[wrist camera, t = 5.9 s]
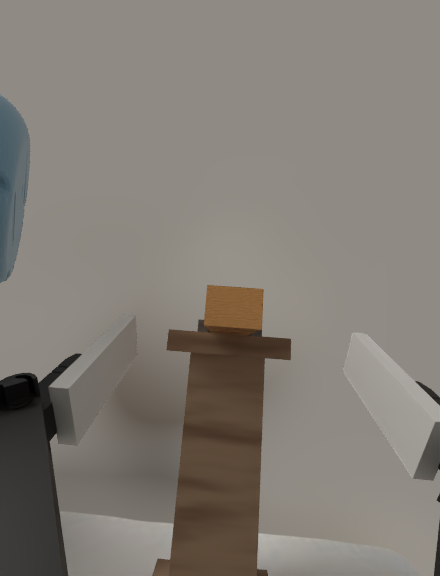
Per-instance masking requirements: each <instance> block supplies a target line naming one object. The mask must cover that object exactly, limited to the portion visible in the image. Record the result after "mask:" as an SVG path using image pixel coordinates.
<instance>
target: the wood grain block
mask: <svg viewBox="0 0 440 576" xmlns="http://www.w3.org/2000/svg"><path fill="white" fill-rule="evenodd" d="M262 311H263V289H255V288H241V287H226V286H213V285H212V286H211V285H207V296H206V306H205V319H204V326H205V327H206V328H207V329H208V330H209V331H210V332H211V333H221V334H234V335H250V334H252V333H255V332H257V331H260V330H262V314H263V313H262Z"/></svg>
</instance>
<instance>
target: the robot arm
mask: <svg viewBox="0 0 440 576" xmlns="http://www.w3.org/2000/svg"><path fill="white" fill-rule="evenodd" d="M29 164H30V139H29V134H28V129H27V126H26V124H25V122H24V119H23V118H22V116H21V115H20V113H19V112H18V111H17V109H16V108H15V107H14V106H13V105H12V104H11V103H10V102H9V101H8V100H7V99H5V98H4V97H3V96H2V95H0V283H1V282H3V281H6V280H7V278H8V277H9V276H10V275H11V272H12V270H13V268H14V263H15V260H16V256H17V252H18V247H19V242H20V237H21V231H22V225H23V217H24V206H25V202H26V197H27V188H28V178H29ZM137 355H138V354H137V333H136V316H134V315H123V316H121V317H120V318H119V319H118V320H117V321H116V322H115V323H114V324H113V325H112V326H111V327H110V328H109V329H108V330H107V331H106V332H105V333H104V334H103V335H102V336H101V337H100V338H99V339H98V340H97V341H95V343H93V344H92V345H91V346H90V347H89V348H88V349H87V350H86V351H85V352H84V353H83V354H74V355H72V356H70V357H68V358H67V359H65V360H64V361H63V362H62V363H61V364H59V366H58V367H56V368H55V369H54V370H53V371H52V373H49V374H48V375H47V376H46V377H45V378H44V379H43V380H42V381H41V382H39V383H38V380H37V377H36V376H35V375H34V374H31V373H21V374H15V375H12V376H9V377H6V378H5V379H3V380H1V381H0V576H68V572H67V565H66V557H65V550H64V543H63V535H62V528H61V521H60V513H59V506H58V499H57V491H56V484H55V477H54V469H53V462H52V455H51V448H50V442H49V441H50V440H51V439H52V438H53V436H54V435H55V434H56V433H57V438H58V443H59V444H65V445H75V446H77V445H78V444H79V442H80V440H81V439H82V438H83V436H84V434H85V433H86V431H87V430H88V428H89V427H90V425H91V424H92V422H93V421H94V419H95V418H96V416H97V415H98V413H99V412H100V410H101V409H102V407H103V406H104V404H105V403H106V401H107V400H108V398H109V397H110V395H111V394H112V392H113V391H114V389H115V388H116V386H117V385H118V383H119V382H120V380H121V379H122V377H123V376H124V374H125V373H126V371H127V370H128V368H129V367H130V365H131V364H132V362H133V361H134V359H135V358H136V356H137ZM343 372H344V374H345V376H346V377H347V379H348V380H349V382H350V383H351V385H352V386H353V388H354V389H355V391H356V392H357V394H358V395H359V397H360V399H361V400H362V402H363V403H364V405H365V406H366V408H367V409H368V411H369V412H370V414H371V415H372V417H373V418H374V420H375V422H376V423H377V425H378V426H379V428H380V429H381V431H382V432H383V434H384V435H385V437H386V439H387V440H388V442H389V443H390V445H391V446H392V448H393V449H394V451H395V452H396V454H397V455H398V457H399V458H400V460H401V462H402V463H403V465H404V466H405V468H406V469H407V471H408V472H409V474H410V475H411V477H412V478H413V479H422V480H432V481H433V480H434V478H435V475H436V473H437V471H438V469H439V470H440V398H439V396H438V395H437V394H435V393H434V392H433V391H432V390H431V389H430V388H428V387H427V386H425V385H423V384H422V383H420V382H417V381H414V380H413V379H412V378H411V377H410V376H409V375H407V373H406V372H405V371H404V370H403V369H402V368H401V367H399V366H398V365H397V364H396V363H395V362H394V361H393V360H392V359H391V358H390V357H389V356H388V355H387V354H386V353H385V352H384V351H383V350H382V349H381V348H380V347H379V346H378V345H377V344H376V343H375V342H374V341H373V340H372V339H371V338H370V337H369V336H368V335H367V334H365V333H354V332H353V333H352V336H351V341H350V345H349V349H348V353H347V358H346V362H345V365H344V370H343ZM437 501H438V502H440V495H439V496H438V499H437ZM434 576H440V523H439V532H438V542H437V552H436V562H435V571H434Z"/></svg>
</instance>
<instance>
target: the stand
mask: <svg viewBox="0 0 440 576" xmlns="http://www.w3.org/2000/svg"><path fill="white" fill-rule="evenodd" d="M167 350H170V351H182V352H191V355H190V365H189V375H188V386H187V396H186V406H185V416H184V426H183V436H182V446H181V457H180V467H179V478H178V487H177V497H176V507H175V518H174V528H173V538H172V548H171V558H170V560H165V559H158V560H157V563H156V566H155V569H154V573H153V576H268V573H267V570H259V569H257V551H258V524H259V496H260V470H261V441H262V417H263V390H264V364H265V358H271V359H283V360H290V359H291V339H286V338H273V337H262V330H260V331H257V332H255V333H252V334H250V335H234V334H221V333H211V332H210V331H209V330H208V329H207V328H206V327H205V326H204V320H199V322H198V332H195V331H182V330H169V334H168V342H167Z"/></svg>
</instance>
